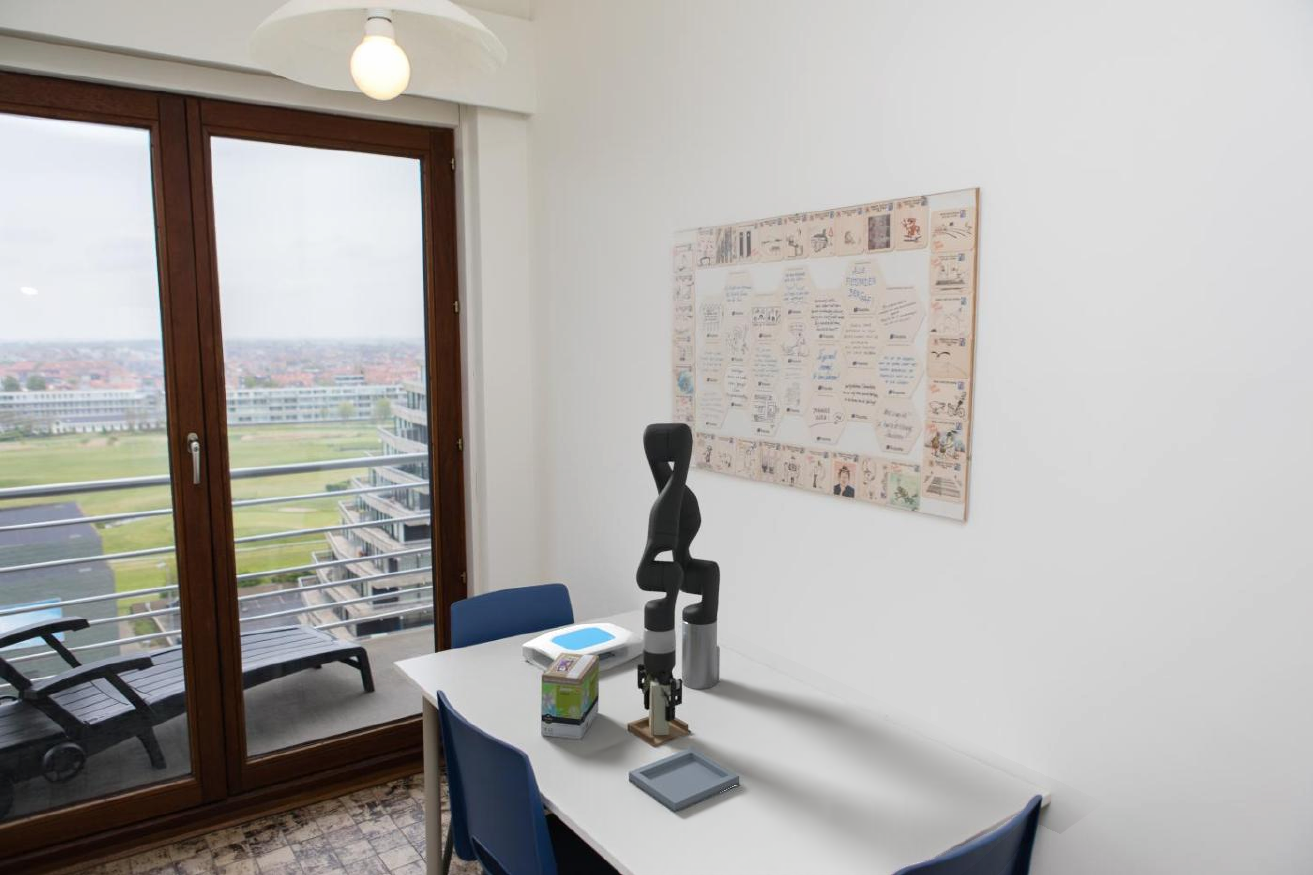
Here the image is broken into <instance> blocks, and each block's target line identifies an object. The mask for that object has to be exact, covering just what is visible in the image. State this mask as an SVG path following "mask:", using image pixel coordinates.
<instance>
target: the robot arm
mask: <svg viewBox="0 0 1313 875" xmlns="http://www.w3.org/2000/svg"><path fill="white" fill-rule="evenodd" d="M642 436H643V437H642V443H643V449H644V453H645V457H646V460H647V463H648V466H649V469H650V472H651V474H652V477H653V480H654V483H655V486H656V490H657V494H658V495H657V498H656V499H655V501H654V503H653V504H652V507H651V509H650V511H649V515H648V516H649V517H648V526H647V539H646V544H645V547H644V550H643V553H642V556H641V559H640V562H639V564H638V567H637V570H636V573H635V580H636V583H637V586H638V588H639V589H640V590H641V591H644V592H654V593H655V592H657V593H665V597H663V598H656V599H652V600H649V601H648V602H646V603H645V604H644V610H643V612H644V613H643V615H644V616H643V618H644V621H643V623H644V626H643V627H644V628H643V636H642V641H643V653H642V663H638V664H637V672H636V673H637V688H638V690H641V691H642V695H643V706H644V709H645V710H646V711H649V699H650V680H652V679H653V680H655V683H656V684H658V685H660V686H661V685H663V686H667V685H668V684H670V686H669V687H670V693H669V692H665V691H664V689H663V688H662V687H661V697H663V698H664V701H665V704H666V706H665V720H666V721H667V722H670V721H673V720H674V719H675V717H676V706H679V705H681V704H682V703H683V685H684V686H685V687H688V688H691V689H700V690H701V689H709V688H712V687H714V686H716V685H717V683H718V682H720V668H721V667H720V666H721V665H720V660H721V659H720V657H721V656H720V654H721V650H720V649H721V648H720V646H719V645H718V612H719V604H720V603H719V602H720V601H719V598H720V585H721V584H720V583H721V571H720V566H719V563H718V562H716V561H714V560H711V559H710V560H708V559H703V558H701V559H700V558H693V557H692V555H691V552H690V547H691V545H692V542H693V541H694V540H695V538H696V537H697V535H698V533H699V530H700V528H701V525H702V515H701V514H702V513H701V511H700V506H699V500H698V499H697V496H696V495H695V493H694V491H693V490H692V489H691V488H690V487H689V486H688V485H687V479H688V474H689V470H690V464H691V460H692V454H693V445H694V440H693V433H692V429H691V426H689V424H687V423H683V422H666V423H665V422H658V423H651V424H648V425H646V427H645V428H644V430H643V435H642ZM670 463H673V467H671V465H670ZM670 551H671V555H672V561H670V560H655V559H656V558H657V556H658V555H660V554H661V553H664V552H665V553H666V552H670ZM680 591H681V592H682V593H684V594H685V593H686V594H688V595H689V594H691V595H697V596H701V601H699V602H696V603H692V604H689V605H686V606H685V607H683V609H682V614H681V615H682V616H681V619H682V620H681V627H682V628H681V678H677V679H676V678H675V677H674V674H673V670H674V668H675V667H676V664H677V651H676V650H677V649H676V648H677V635H676V634H677V633H676V623H675V622H676V604H677V601H678V596H679V593H680ZM668 695H670V700H669V699H668Z"/></svg>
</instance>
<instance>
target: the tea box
mask: <svg viewBox="0 0 1313 875" xmlns="http://www.w3.org/2000/svg"><path fill="white" fill-rule="evenodd" d="M599 661H600V656H599V655H595V656H593V655H581V654H571V653H561V654H560V655H559V656H558V657H557V658H556V660H555V661H554V662H553V663H552V664H551V665H550V666H549V667H548V669H547V670H546V671H545V672H544V671H543V673H542V675H541V702H540V703H541V704H540V706H541V707H540V708H541V713H540V714H541V717H540V719H541V721H540V722H541V723H540V736H546V737H552V738H553V737H554V738H560V739H561V738H563V739H571V740H581V739H582V737H583V736H584V734H585V733H586V731H587V730H588V728H589V726H590V725H591V724H592V723H593V721H594V719H595V718H596V716H597V714H599V703H600V702H599V697H600V696H599V694H600V693H599V692H600V690H599V687H600V686H599V685H600V684H599V682H600V671H599Z"/></svg>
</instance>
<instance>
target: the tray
mask: <svg viewBox="0 0 1313 875" xmlns="http://www.w3.org/2000/svg"><path fill="white" fill-rule="evenodd" d="M628 782H630V783H631V784H632V785H634V786H635V787H637V788H638V789H640V790H641V791H642V792H643V793H645V794H647V795H648V796H649V797H651V798H652V799H654V800H656V801H657V802H658V803H660V804H661V805H662V806H664V807H665V808H667V809H668V810H669V811H671V812H672V813H674V814H676V813H678V812H681V811H684V810H686V809H687V808H690V807H693V806H695V805H696V804H699V803H701V802H703V801H705V800H709V799H710V798H712V796H713V797H715V796H717V795H719V793H720V792H722V791H724V790H726V789H728V788H730V787H732V786H734V785H738V784H739V785H740V775H739V774H738V773H736V772H734V771H732V770H730V769H729V768H727V767H725V765H722V764H721V763H719V762H717V761H715V760H713V759H712V758H710V757H709V756H707V755H705V754H703V753H701V752H700V751H698V750H697V749H695V748H693V747H691V748H687V749H685V750H682V751H680V752H677V753H675V754H672V755H670V756H666V757H664V758H662V759H659V760H656V761H653V762H651V763H648V764H646V765H643V766H641V767H638V768H635V769H633V770H630V771H628ZM739 785H738V786H739ZM724 792H725V791H724ZM722 793H723V792H722ZM716 794H717V795H716ZM720 794H721V793H720ZM714 795H715V796H714Z"/></svg>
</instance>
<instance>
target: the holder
mask: <svg viewBox="0 0 1313 875" xmlns="http://www.w3.org/2000/svg"><path fill="white" fill-rule="evenodd" d="M626 724H627V727H626V730H627V732H629V733H630V734H632V735H634V736H636V737H637V738H638V739H640V740H641V741H643V742H645V743H646V744H647V745H649V746H651V747H653V748H655V747H657V746H660V745H663V744H665V743H668V742H671V741H673V740H677V739H679V738H681V737H682V738H683V737H684V736H687V735H689V734H692V730H690V729H689V724H688V723H686V722H684V721H683V720H681V719H680V718H677V717H676V716H675V719H674V720H673V721H670V722H669V735H651V734H650V728H649V716H645V717H643V718H639V719H638V720H634V721H631V722H628V723H626Z"/></svg>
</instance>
